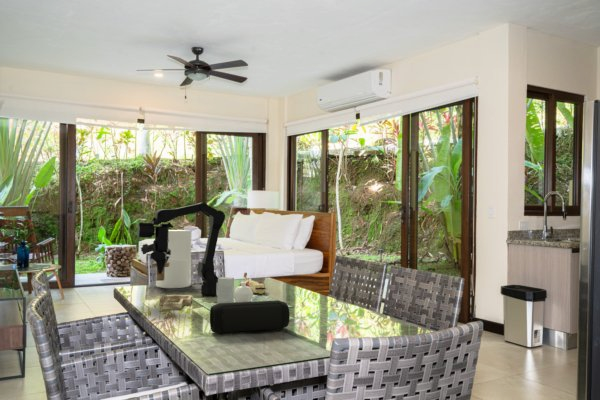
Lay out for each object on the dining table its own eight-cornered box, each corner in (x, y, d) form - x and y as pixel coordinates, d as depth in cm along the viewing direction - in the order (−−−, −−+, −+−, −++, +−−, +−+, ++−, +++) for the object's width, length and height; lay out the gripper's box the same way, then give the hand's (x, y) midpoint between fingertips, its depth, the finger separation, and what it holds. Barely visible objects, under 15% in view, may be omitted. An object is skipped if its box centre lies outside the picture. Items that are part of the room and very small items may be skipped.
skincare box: (233, 306, 204) (234, 277, 204) (231, 308, 200) (232, 279, 200) (219, 305, 205) (220, 276, 205) (216, 307, 201) (217, 278, 201)
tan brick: (168, 279, 219) (169, 262, 219) (168, 280, 216) (168, 263, 216) (152, 279, 218) (153, 262, 218) (151, 280, 215) (152, 263, 215)
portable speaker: (280, 325, 174) (281, 297, 174) (290, 332, 165) (290, 303, 165) (208, 330, 165) (209, 300, 165) (214, 338, 156) (215, 306, 156)
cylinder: (153, 283, 257) (154, 229, 257) (186, 281, 264) (187, 229, 264) (158, 288, 241) (160, 231, 241) (193, 287, 248) (195, 231, 249)
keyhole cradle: (191, 300, 214) (192, 295, 214) (187, 309, 196) (187, 303, 196) (162, 300, 212) (162, 295, 212) (155, 309, 195) (156, 303, 195)
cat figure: (235, 290, 251) (251, 294, 229) (235, 272, 252) (251, 275, 229) (253, 289, 255) (271, 293, 233) (253, 272, 256) (271, 274, 234)
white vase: (249, 315, 188) (249, 284, 188) (230, 314, 189) (230, 283, 189) (254, 311, 195) (255, 281, 195) (236, 310, 197) (237, 280, 197)
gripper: (146, 236, 225) (145, 270, 225) (138, 238, 207) (137, 276, 206) (171, 236, 226) (170, 270, 226) (165, 239, 208) (164, 276, 208)
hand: (160, 273), depth 217 cm, fingers closed on tan brick, 3 cm apart
